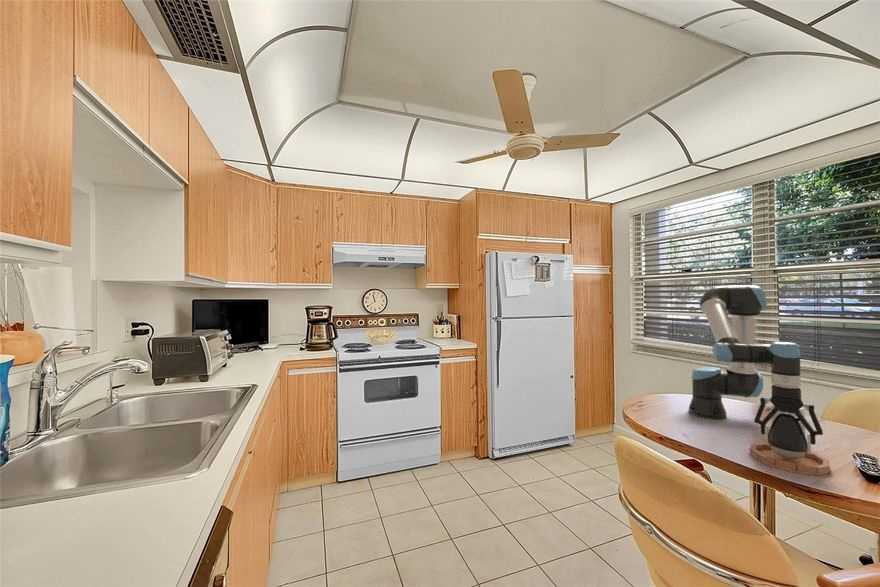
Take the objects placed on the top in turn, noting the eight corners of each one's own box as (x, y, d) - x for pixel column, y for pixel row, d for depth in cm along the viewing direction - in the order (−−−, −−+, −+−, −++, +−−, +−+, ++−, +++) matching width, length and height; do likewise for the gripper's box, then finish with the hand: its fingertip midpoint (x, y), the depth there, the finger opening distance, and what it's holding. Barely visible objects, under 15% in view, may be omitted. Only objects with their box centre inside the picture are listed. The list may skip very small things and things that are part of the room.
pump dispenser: (817, 463, 120) (816, 419, 120) (781, 461, 122) (780, 417, 122) (794, 451, 130) (792, 409, 130) (761, 448, 132) (760, 408, 132)
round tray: (754, 444, 140) (754, 438, 140) (829, 461, 125) (829, 454, 125) (746, 460, 126) (746, 453, 126) (829, 481, 112) (829, 473, 112)
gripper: (742, 382, 132) (744, 441, 132) (833, 393, 115) (835, 462, 115) (746, 378, 137) (747, 436, 137) (833, 389, 120) (834, 455, 120)
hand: (787, 448), depth 126 cm, fingers closed on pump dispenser, 10 cm apart
